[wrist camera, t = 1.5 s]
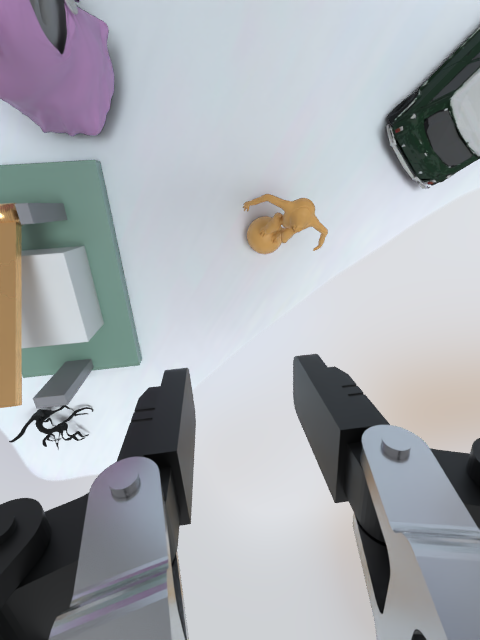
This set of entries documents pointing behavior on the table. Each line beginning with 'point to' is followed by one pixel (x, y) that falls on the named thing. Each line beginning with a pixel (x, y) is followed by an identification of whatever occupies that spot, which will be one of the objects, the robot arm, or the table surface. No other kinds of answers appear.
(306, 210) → the figurine
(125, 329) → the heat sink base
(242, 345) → the table surface
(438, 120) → the miniature car
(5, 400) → the strap
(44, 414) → the creature
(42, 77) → the toy character
